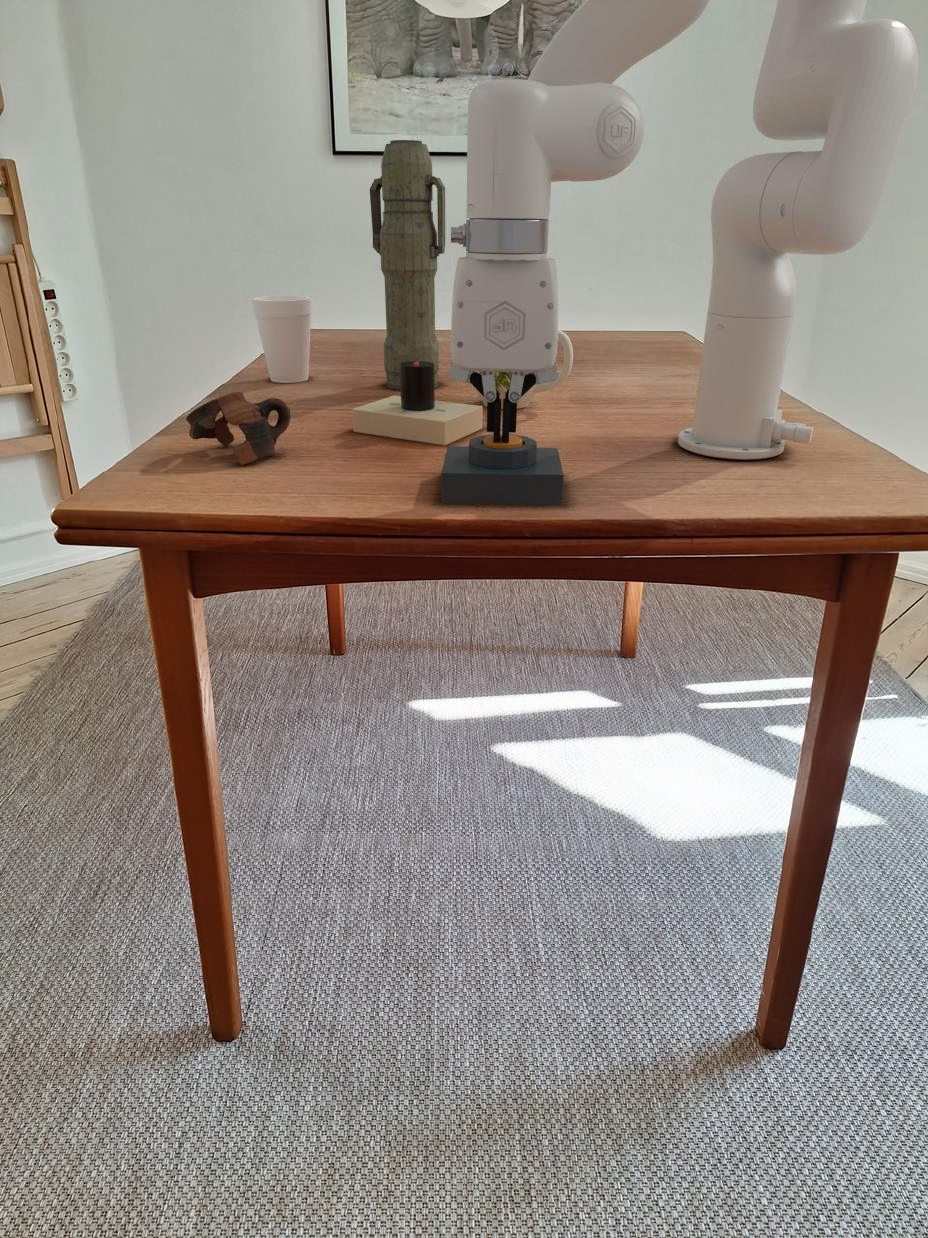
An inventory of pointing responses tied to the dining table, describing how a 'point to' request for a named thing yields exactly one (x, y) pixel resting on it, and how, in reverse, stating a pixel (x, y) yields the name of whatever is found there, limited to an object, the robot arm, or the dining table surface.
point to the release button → (513, 442)
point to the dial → (417, 385)
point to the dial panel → (418, 421)
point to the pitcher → (504, 382)
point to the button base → (502, 474)
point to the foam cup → (285, 335)
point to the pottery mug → (241, 424)
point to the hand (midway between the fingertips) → (501, 438)
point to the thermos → (408, 253)
